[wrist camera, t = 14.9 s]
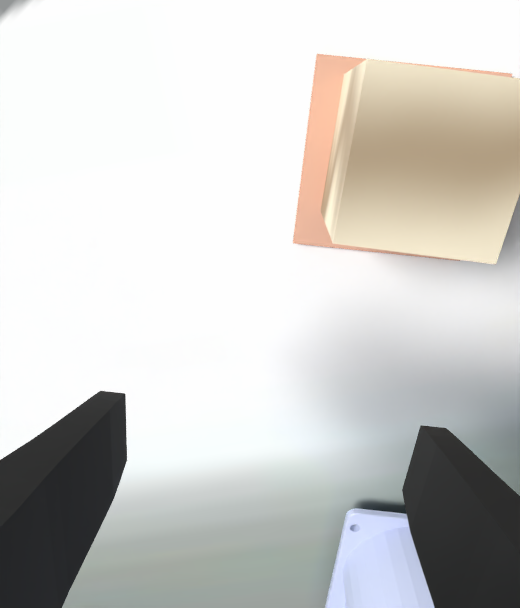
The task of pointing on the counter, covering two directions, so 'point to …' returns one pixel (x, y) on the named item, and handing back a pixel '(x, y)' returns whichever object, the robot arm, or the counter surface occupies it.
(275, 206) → the counter surface
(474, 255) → the block
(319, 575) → the counter surface
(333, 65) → the pad
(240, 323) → the counter surface
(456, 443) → the robot arm
